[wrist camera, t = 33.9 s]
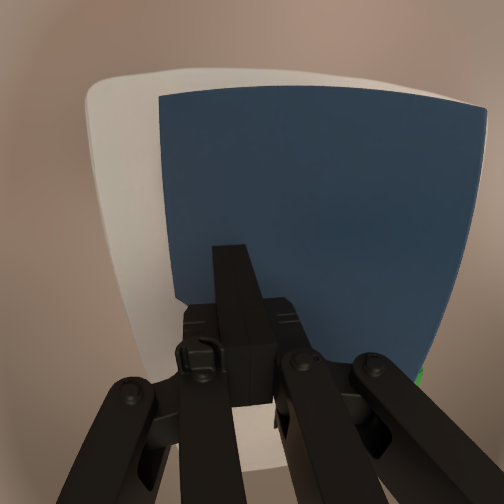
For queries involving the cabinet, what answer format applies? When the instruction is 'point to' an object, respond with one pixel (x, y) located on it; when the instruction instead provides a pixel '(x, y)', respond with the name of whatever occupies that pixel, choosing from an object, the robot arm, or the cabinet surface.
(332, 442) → the robot arm
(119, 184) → the cabinet surface
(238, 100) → the lid
